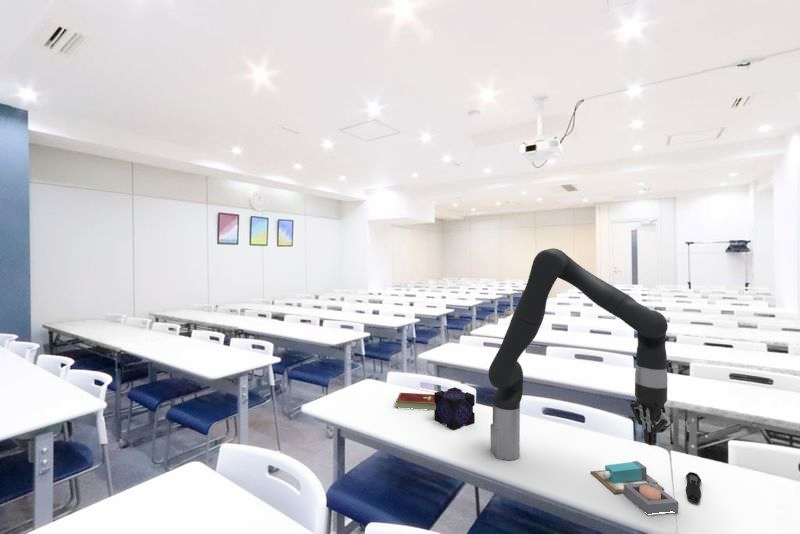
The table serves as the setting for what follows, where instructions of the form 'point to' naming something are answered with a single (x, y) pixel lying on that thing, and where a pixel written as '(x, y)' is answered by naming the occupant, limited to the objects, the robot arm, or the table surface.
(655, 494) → the brown egg
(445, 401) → the energy cube
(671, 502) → the collar
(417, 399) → the hardcover book
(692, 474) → the electric trimmer
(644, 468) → the teal rectangular block
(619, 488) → the clipboard
